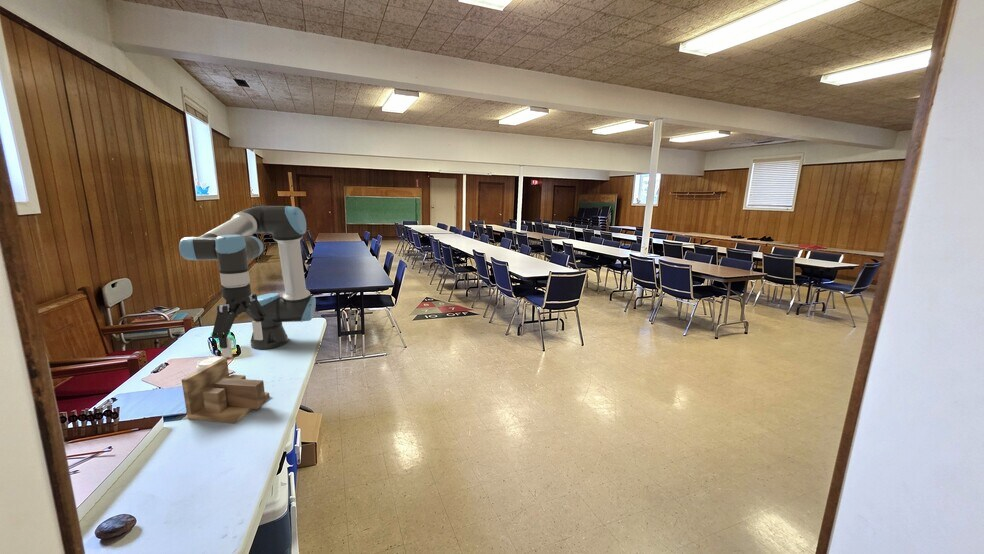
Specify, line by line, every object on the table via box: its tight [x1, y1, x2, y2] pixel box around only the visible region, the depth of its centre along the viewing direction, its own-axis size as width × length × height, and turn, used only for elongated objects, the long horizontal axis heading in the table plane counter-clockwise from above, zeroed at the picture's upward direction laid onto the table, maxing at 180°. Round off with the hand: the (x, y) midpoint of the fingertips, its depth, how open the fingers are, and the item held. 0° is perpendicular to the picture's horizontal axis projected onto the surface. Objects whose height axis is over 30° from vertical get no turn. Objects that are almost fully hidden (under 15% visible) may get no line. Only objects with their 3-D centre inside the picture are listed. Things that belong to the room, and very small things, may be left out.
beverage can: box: [195, 355, 223, 372], centre depth 134 cm, size 8×8×12 cm
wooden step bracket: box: [181, 357, 270, 424], centre depth 125 cm, size 16×16×14 cm
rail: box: [214, 378, 267, 410], centre depth 124 cm, size 4×14×8 cm, turn 86°
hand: (243, 347), depth 123 cm, fingers open, 13 cm apart
